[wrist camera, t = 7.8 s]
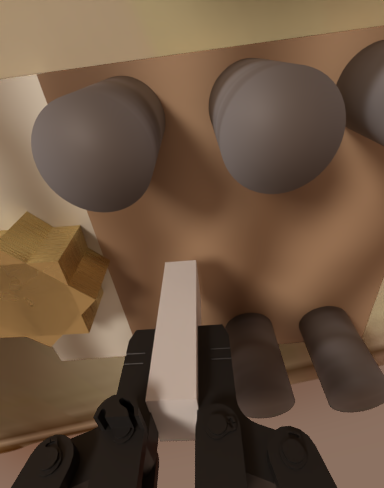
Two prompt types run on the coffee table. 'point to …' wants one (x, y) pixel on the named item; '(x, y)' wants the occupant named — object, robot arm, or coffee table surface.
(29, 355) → the coffee table surface
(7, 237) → the star-shaped block
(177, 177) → the board
